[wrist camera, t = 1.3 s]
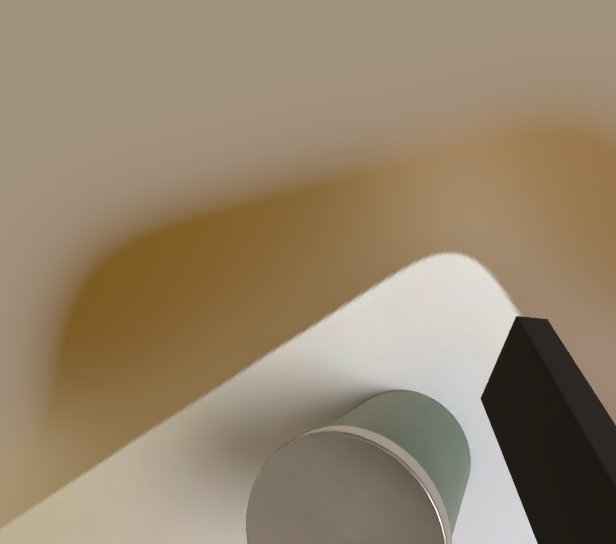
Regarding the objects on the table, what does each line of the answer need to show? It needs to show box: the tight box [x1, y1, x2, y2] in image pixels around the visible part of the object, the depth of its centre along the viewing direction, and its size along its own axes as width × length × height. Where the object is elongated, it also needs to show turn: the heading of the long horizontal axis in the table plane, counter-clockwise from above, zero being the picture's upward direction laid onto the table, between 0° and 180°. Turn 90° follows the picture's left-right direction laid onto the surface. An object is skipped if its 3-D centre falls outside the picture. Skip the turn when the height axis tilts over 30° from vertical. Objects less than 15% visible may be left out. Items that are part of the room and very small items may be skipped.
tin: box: [246, 390, 470, 544], centre depth 20 cm, size 6×6×10 cm
